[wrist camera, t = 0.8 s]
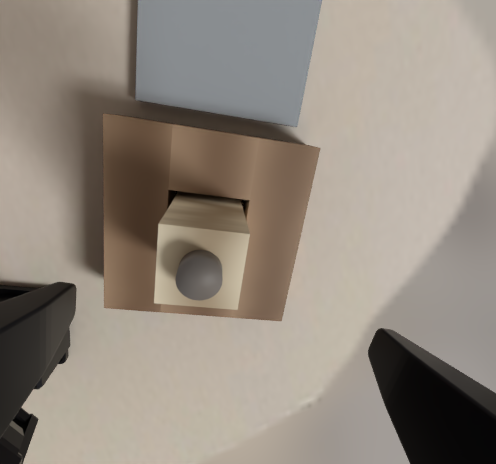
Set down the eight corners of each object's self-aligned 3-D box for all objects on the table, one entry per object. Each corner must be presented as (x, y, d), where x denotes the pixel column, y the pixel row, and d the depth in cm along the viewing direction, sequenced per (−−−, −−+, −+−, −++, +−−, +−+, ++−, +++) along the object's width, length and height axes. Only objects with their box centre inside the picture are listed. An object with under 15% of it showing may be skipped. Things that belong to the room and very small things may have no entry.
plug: (176, 241, 22) (149, 316, 13) (181, 187, 20) (153, 231, 12) (231, 247, 22) (238, 322, 14) (239, 194, 21) (252, 242, 12)
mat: (137, 100, 18) (135, 99, 18) (144, -114, 15) (141, -123, 14) (295, 126, 20) (297, 126, 19) (332, -65, 16) (336, -71, 16)
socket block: (118, 284, 22) (104, 307, 19) (120, 115, 18) (102, 113, 16) (274, 298, 24) (281, 321, 21) (306, 144, 20) (320, 148, 17)
